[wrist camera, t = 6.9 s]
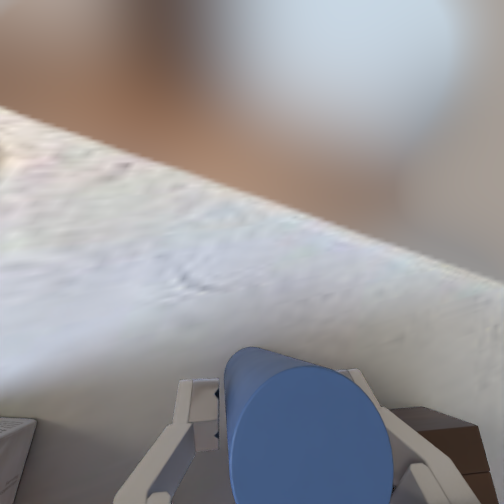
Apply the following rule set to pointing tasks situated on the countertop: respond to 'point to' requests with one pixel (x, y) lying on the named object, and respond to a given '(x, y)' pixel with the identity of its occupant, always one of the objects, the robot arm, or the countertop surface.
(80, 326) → the countertop surface
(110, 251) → the countertop surface
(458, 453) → the holder
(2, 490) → the coffee box
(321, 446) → the handle
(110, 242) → the countertop surface
